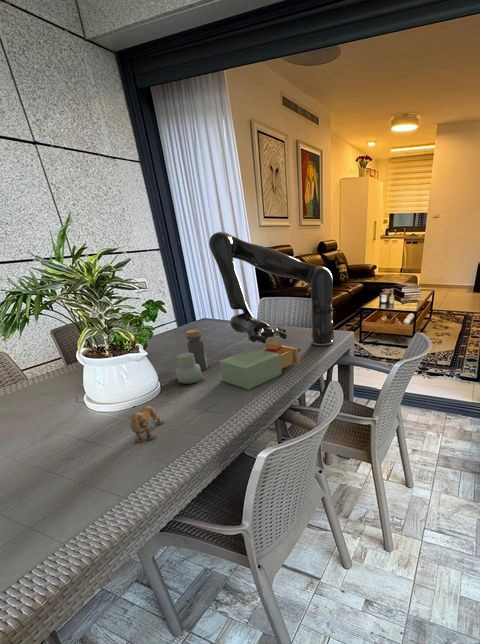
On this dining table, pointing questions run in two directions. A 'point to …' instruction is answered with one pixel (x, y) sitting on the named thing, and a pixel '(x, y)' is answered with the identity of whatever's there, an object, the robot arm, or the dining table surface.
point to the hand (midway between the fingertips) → (275, 338)
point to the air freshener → (187, 369)
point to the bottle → (197, 348)
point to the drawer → (289, 356)
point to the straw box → (274, 347)
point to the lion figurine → (143, 422)
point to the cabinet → (250, 368)
